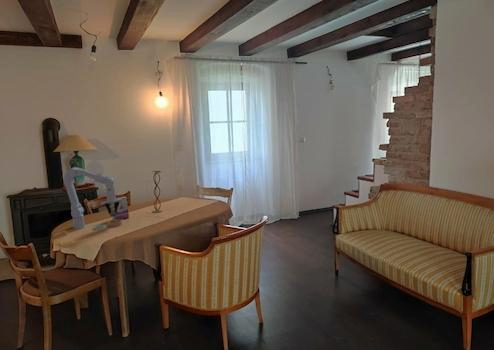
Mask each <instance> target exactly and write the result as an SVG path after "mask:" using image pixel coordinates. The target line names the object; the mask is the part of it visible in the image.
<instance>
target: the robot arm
mask: <svg viewBox="0 0 494 350" xmlns="http://www.w3.org/2000/svg"><path fill="white" fill-rule="evenodd" d="M64 174H65V175H64V179H63V183H64V186H65V189H66V192H67V195H68V198H69V202H70V210H71V211H70V215H71V217H72V223H73V225H72V226H73V229H74V230H81V229H85V227H86V225H85V216H84V212H85V209H84V207H83V206H82V204H81V203H80V202H79V201H80V200H79V198H78V195H77V191H76V188H75V185H74V182H73V181H74V180H75V178H76V177H79V176H83V177H87V178H91V179H93V180H94V182H97V183H100V184H102V185H104V186H105V193H106V200H104V201H100V205H101V206H102V205H104V207H105V208H106V209H107V211H108V212H107V213H108V214H109V215H110V207H111V206H110V205H111V203H114V205H115V210H116V213H117V208H118V205H119V202H122V199H117V198H116V190H115V189H116V188H115V182H116V181H115V178H113V177H111V176H110V177H109V175H108V176H106V175H103V174H102V173H93V172H91V171H88V170H85V169H84V168H81V167H78V166H73V167H71V168H68V169H67V170H66V171H65V173H64Z"/></svg>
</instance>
